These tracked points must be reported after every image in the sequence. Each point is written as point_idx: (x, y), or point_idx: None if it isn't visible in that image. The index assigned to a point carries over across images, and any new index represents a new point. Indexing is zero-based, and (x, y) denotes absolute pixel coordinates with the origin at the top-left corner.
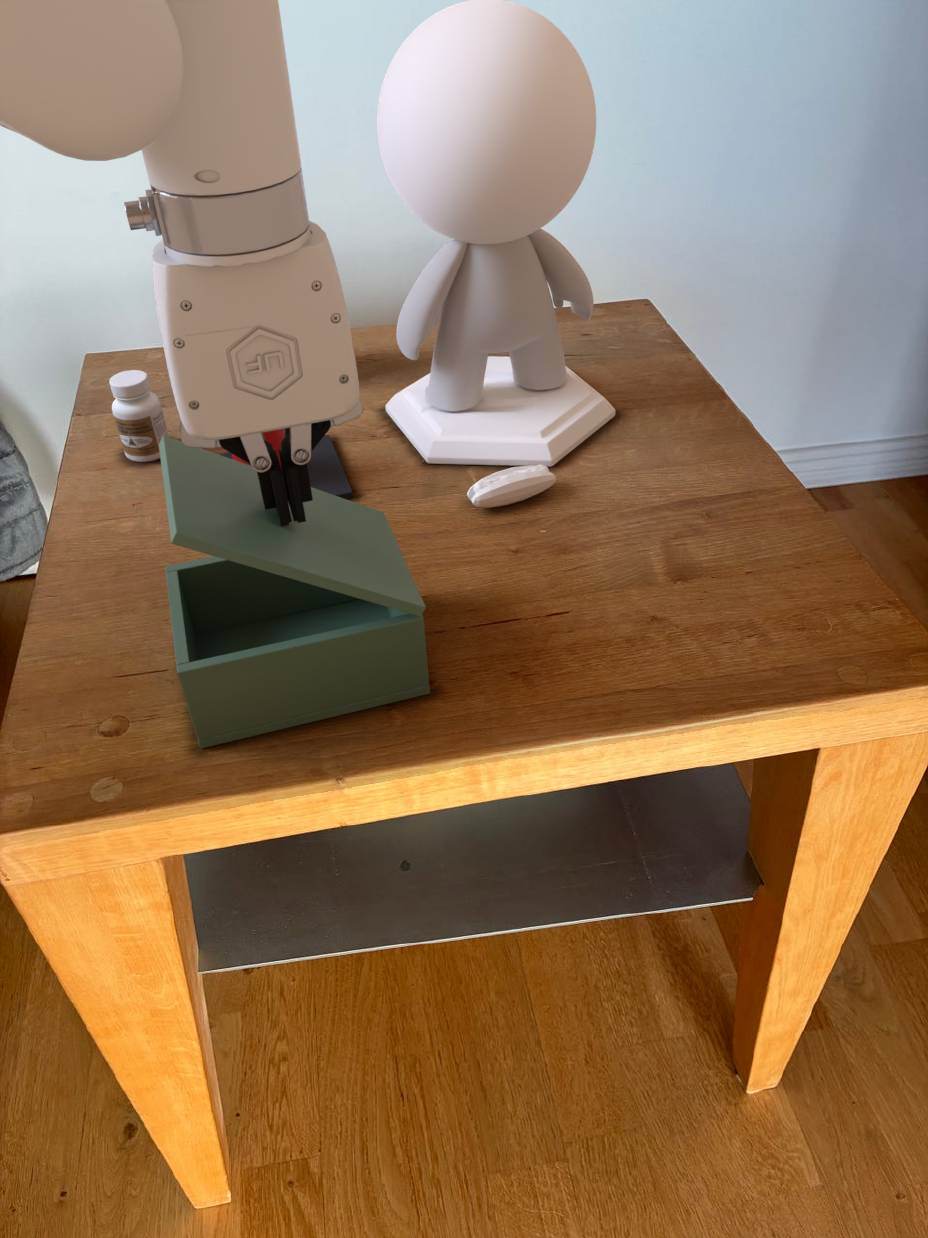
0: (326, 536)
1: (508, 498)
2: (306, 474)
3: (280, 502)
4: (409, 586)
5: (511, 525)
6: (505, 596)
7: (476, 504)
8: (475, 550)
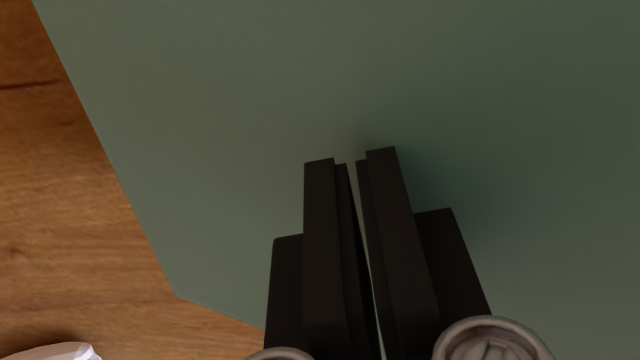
0: (260, 157)
1: (35, 352)
2: (274, 316)
3: (392, 199)
4: (54, 19)
5: (33, 305)
6: (11, 150)
7: (85, 345)
8: (82, 259)
